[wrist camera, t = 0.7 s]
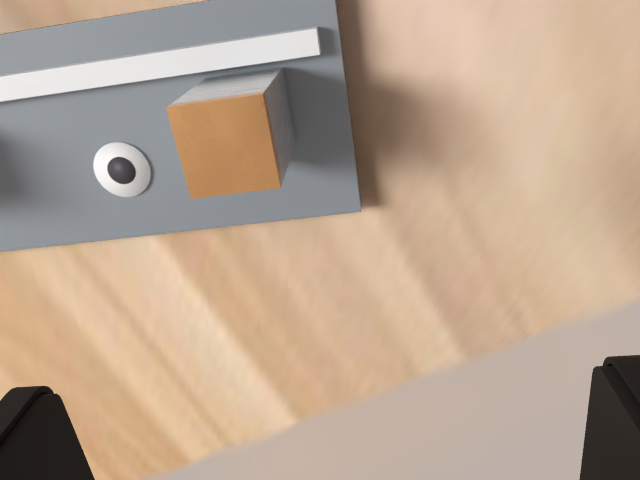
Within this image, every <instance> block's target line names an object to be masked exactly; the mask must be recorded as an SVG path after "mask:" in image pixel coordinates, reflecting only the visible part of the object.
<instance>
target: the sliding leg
mask: <svg viewBox="0 0 640 480" xmlns="http://www.w3.org/2000/svg"><path fill="white" fill-rule="evenodd" d="M166 110H167V113H168V117H169V121H170V124H171V128H172V132H173V135H174V139H175V143H176V147H177V150H178V154H179V158H180V161H181V165H182V169H183V172H184V176H185V180H186V183H187V187H188V191H189V194H190V198H191V199H194V198H203V197H211V196H220V195H228V194H237V193H245V192H253V191H262V190H270V189H279V188H281V186H282V183H283V180H284V177H285V174H286V171H287V168H288V165H289V162H290V159H291V156H292V153H293V150H294V147H295V144H296V142H295V136H294V130H293V124H292V118H291V113H290V107H289V101H288V95H287V89H286V83H285V78H284V72H283V67H278V68H271V69H264V70H257V71H250V72H243V73H236V74H229V75H222V76H216V77H209V78H205V79H204V80H203V81H201V82H200V83H198V84H197V85H196V86H194V87H193V88H192V89H190V90H189V91H188V92H186V93H185V94H184V95H182V96H181V97H180V98H178V99H177V100H176V101H174V102H173V103H172V104H170V105H169V106H167V107H166Z"/></svg>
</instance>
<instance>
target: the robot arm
mask: <svg viewBox="0 0 640 480" xmlns="http://www.w3.org/2000/svg"><path fill="white" fill-rule="evenodd" d="M0 480H95V479H94V477H93V474H92V472H91V469H90V467H89V465H88V462H87V460H86V457H85V455H84V452H83V450H82V448H81V445H80V443H79V440H78V438H77V435H76V433H75V430H74V428H73V426H72V423H71V421H70V418H69V416H68V413H67V411H66V409H65V406H64V404H63V401H62V399H61V397H60V396H59V395H58V394H54V393H53V391H52V390H51V389H50V388H49V387H47V386H33V387H16V388H13V389H11V390H10V391H9V392H8V393H7V394H6V395H5V396H4V397H3V398H2V399H1V401H0ZM580 480H640V355H633V356H614V357H607V358H606V359H605V360H604V363H603V366H597V367H595V368H594V369H593V373H592V381H591V389H590V398H589V406H588V415H587V423H586V431H585V440H584V448H583V456H582V465H581V473H580Z"/></svg>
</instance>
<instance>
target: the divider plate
mask: <svg viewBox="0 0 640 480" xmlns="http://www.w3.org/2000/svg"><path fill="white" fill-rule="evenodd" d="M278 67H283V72H284V78H285V83H286V89H287V95H288V101H289V107H290V113H291V118H292V124H293V130H294V136H295V142H296V144H295V147H294V150H293V153H292V156H291V159H290V162H289V165H288V168H287V171H286V174H285V177H284V180H283V183H282V186H281V188H279V189H270V190H262V191H253V192H245V193H237V194H228V195H220V196H211V197H203V198H194V199H191V198H190V194H189V191H188V187H187V183H186V180H185V176H184V172H183V169H182V165H181V161H180V158H179V154H178V150H177V147H176V143H175V139H174V135H173V132H172V128H171V124H170V121H169V117H168V113H167V110H166V107H167V106H169V105H170V104H172V103H173V102H174V101H176V100H177V99H178V98H180V97H181V96H182V95H184V94H185V93H186V92H188V91H189V90H190V89H192V88H193V87H194V86H196V85H197V84H198V83H200V82H201V81H203V80H204V79H205V78H209V77H216V76H222V75H229V74H236V73H243V72H250V71H257V70H264V69H271V68H278ZM353 212H361V198H360V190H359V182H358V174H357V166H356V158H355V150H354V142H353V134H352V125H351V117H350V109H349V101H348V93H347V85H346V77H345V69H344V61H343V52H342V44H341V36H340V28H339V20H338V12H337V4H336V0H208V1H202V2H196V3H190V4H184V5H177V6H171V7H165V8H159V9H153V10H147V11H140V12H134V13H128V14H122V15H116V16H110V17H104V18H97V19H91V20H85V21H79V22H73V23H67V24H60V25H54V26H48V27H42V28H36V29H30V30H24V31H17V32H11V33H5V34H0V252H3V251H12V250H21V249H30V248H39V247H48V246H57V245H66V244H75V243H84V242H93V241H102V240H111V239H120V238H129V237H138V236H147V235H156V234H165V233H174V232H183V231H192V230H201V229H210V228H219V227H228V226H236V225H245V224H254V223H263V222H272V221H281V220H290V219H299V218H308V217H317V216H326V215H335V214H344V213H353Z"/></svg>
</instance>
